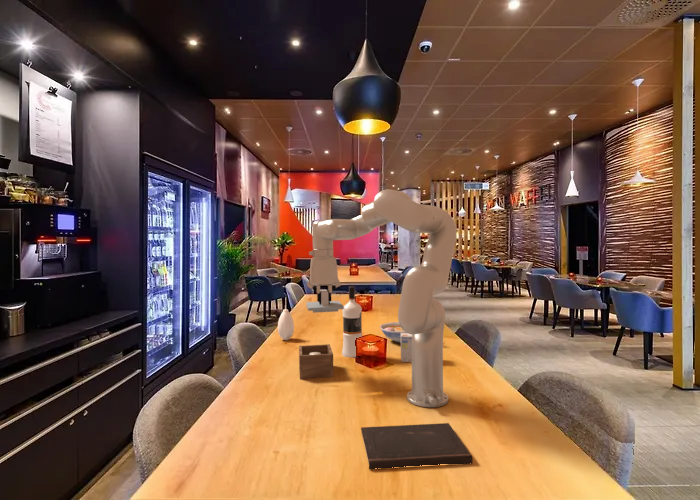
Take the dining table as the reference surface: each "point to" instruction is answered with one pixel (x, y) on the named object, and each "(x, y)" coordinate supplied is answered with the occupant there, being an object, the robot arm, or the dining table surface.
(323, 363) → the walnut box
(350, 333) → the vodka
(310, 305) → the lid
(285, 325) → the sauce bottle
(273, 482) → the dining table surface
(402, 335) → the light bulb box
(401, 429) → the hardcover book
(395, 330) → the ramen bowl
